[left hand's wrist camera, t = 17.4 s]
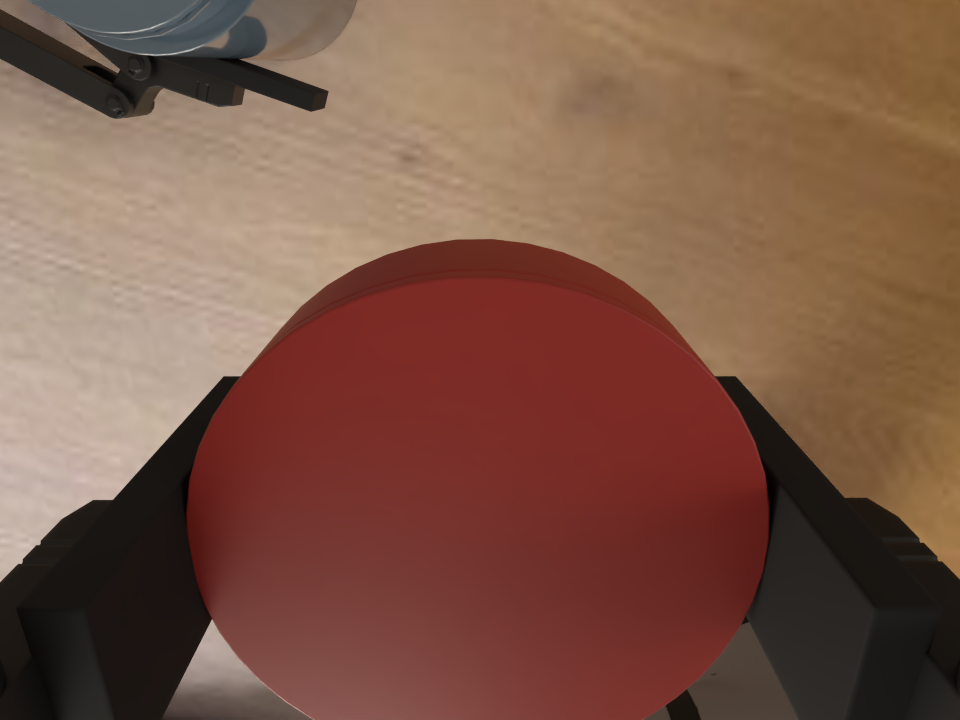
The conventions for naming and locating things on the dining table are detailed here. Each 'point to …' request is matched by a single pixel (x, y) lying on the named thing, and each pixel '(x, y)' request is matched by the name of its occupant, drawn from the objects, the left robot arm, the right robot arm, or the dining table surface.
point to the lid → (478, 496)
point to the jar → (208, 26)
